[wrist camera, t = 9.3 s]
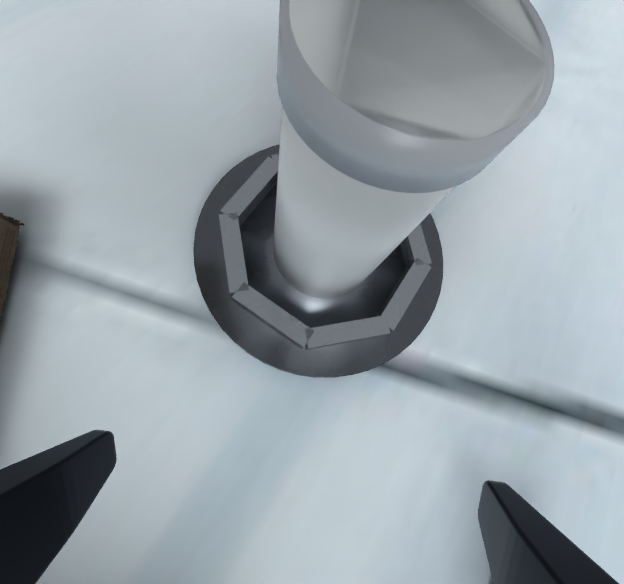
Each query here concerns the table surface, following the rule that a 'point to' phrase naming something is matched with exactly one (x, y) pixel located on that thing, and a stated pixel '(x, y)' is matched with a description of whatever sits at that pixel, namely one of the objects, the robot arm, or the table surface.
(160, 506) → the table surface
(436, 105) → the capped white cylinder
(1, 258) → the box
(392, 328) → the collar
